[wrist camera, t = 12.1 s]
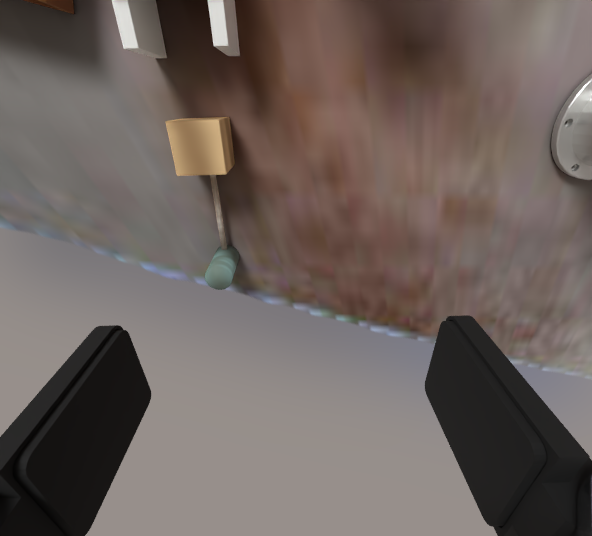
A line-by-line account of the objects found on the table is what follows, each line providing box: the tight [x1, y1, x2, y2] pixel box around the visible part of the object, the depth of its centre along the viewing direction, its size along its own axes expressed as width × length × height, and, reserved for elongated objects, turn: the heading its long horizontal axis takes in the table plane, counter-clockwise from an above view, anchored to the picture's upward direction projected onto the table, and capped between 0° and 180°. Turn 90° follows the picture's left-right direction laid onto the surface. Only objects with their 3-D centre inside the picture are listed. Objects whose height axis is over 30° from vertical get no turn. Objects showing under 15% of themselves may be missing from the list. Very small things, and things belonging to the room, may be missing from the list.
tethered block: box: [166, 117, 239, 290], centre depth 35 cm, size 5×19×6 cm, turn 1°
